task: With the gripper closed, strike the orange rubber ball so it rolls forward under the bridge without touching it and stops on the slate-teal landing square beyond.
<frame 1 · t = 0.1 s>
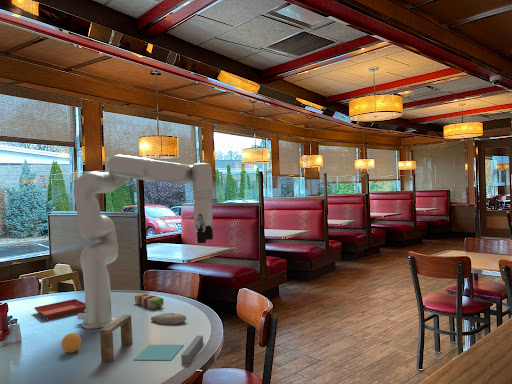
hand: (205, 241, 157), 31 cm above the table, tool pointing down, fingers open, 9 cm apart
bridge: (117, 352, 133), on the table
stopper rail: (193, 352, 130), on the table
plant saucer: (61, 313, 184), on the table
skewer: (150, 307, 186), on the table
decorative stone: (169, 323, 162), on the table
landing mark: (159, 352, 131), on the table
ball: (71, 342, 136), on the table
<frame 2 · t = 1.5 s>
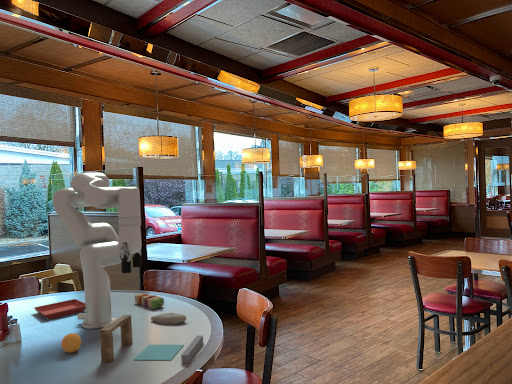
hand: (132, 269, 148), 24 cm above the table, tool pointing down, fingers open, 9 cm apart
nothing on the table moved.
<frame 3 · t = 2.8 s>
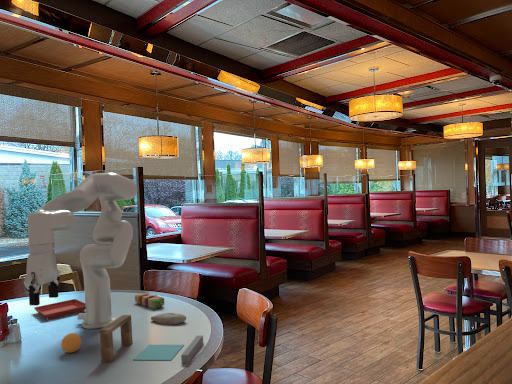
hand: (44, 301, 137), 17 cm above the table, tool pointing down, fingers open, 9 cm apart
nothing on the table moved.
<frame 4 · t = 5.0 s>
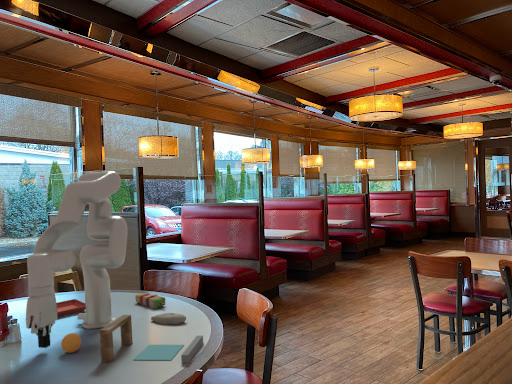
hand: (44, 346, 137), 2 cm above the table, tool pointing down, fingers closed
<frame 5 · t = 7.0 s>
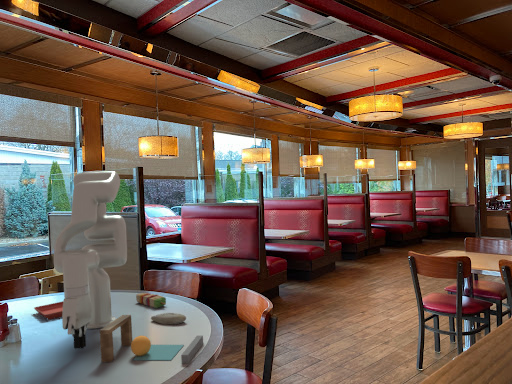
hand: (80, 347, 135), 2 cm above the table, tool pointing down, fingers closed
ball: (140, 345, 130), on the table
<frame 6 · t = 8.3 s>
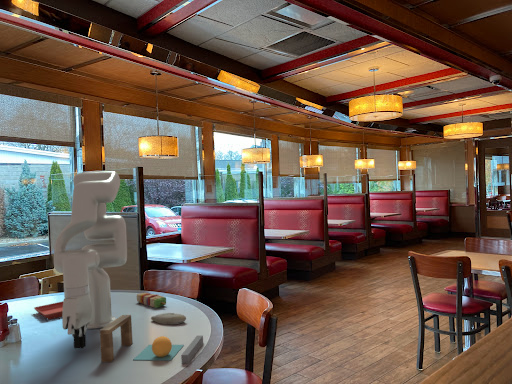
hand: (80, 347, 135), 2 cm above the table, tool pointing down, fingers closed
ball: (161, 346, 128), on the table
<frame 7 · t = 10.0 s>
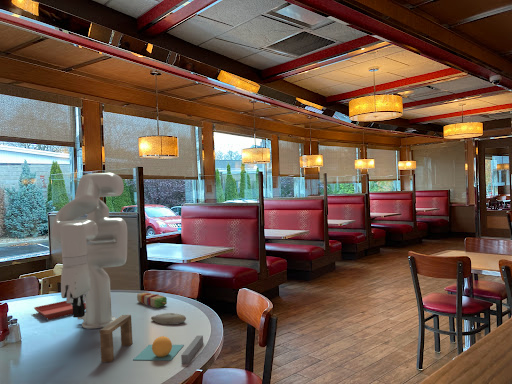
hand: (79, 316, 136), 11 cm above the table, tool pointing down, fingers closed
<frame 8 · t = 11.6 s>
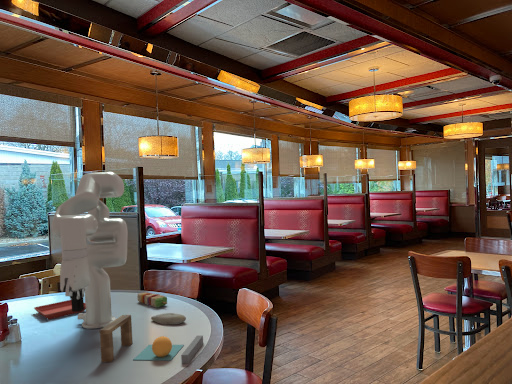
hand: (78, 310, 135), 14 cm above the table, tool pointing down, fingers closed
at the end: ball 3.6 cm from the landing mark (horizontally); ball never touched bridge; ball at rest at the end (0.0 cm/s) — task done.
